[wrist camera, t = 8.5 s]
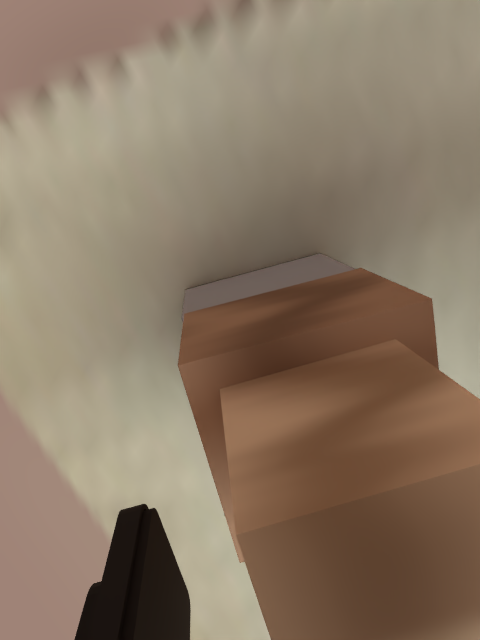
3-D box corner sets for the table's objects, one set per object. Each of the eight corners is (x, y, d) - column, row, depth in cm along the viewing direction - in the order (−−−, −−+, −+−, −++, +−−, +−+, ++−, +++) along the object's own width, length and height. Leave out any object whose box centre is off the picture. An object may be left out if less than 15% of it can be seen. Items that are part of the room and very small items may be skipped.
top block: (360, 267, 16) (431, 299, 11) (383, 422, 18) (451, 504, 13) (184, 313, 15) (177, 365, 11) (228, 463, 18) (240, 562, 13)
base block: (320, 253, 20) (357, 270, 16) (343, 375, 23) (382, 423, 18) (185, 289, 20) (181, 317, 16) (221, 409, 22) (228, 466, 18)
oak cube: (395, 339, 11) (544, 445, 6) (418, 484, 13) (550, 658, 8) (219, 389, 11) (235, 535, 6) (263, 529, 13) (302, 733, 8)
